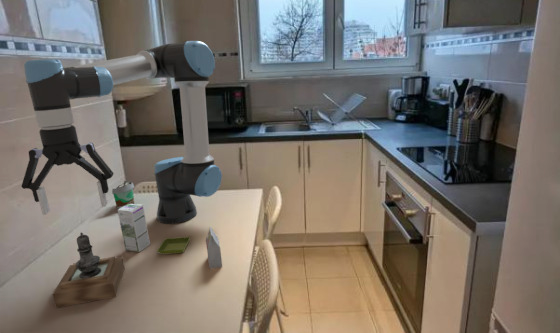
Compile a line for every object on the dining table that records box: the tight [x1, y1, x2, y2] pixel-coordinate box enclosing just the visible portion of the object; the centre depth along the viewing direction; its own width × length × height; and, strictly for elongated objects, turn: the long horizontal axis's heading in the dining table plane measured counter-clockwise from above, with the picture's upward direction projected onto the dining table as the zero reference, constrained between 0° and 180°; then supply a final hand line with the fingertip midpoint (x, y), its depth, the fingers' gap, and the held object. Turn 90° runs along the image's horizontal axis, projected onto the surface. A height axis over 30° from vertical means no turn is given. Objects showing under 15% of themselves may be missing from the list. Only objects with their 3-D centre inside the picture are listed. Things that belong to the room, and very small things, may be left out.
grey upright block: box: [205, 227, 223, 269], centre depth 105 cm, size 4×7×10 cm, turn 14°
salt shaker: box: [75, 232, 101, 279], centre depth 95 cm, size 6×6×12 cm
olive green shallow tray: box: [156, 236, 191, 255], centre depth 116 cm, size 9×9×2 cm
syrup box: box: [117, 203, 151, 253], centre depth 116 cm, size 6×6×14 cm
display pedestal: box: [52, 256, 126, 309], centre depth 97 cm, size 14×14×5 cm
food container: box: [111, 180, 135, 211], centre depth 155 cm, size 12×6×10 cm, turn 179°
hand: (76, 209), depth 92 cm, fingers open, 13 cm apart
